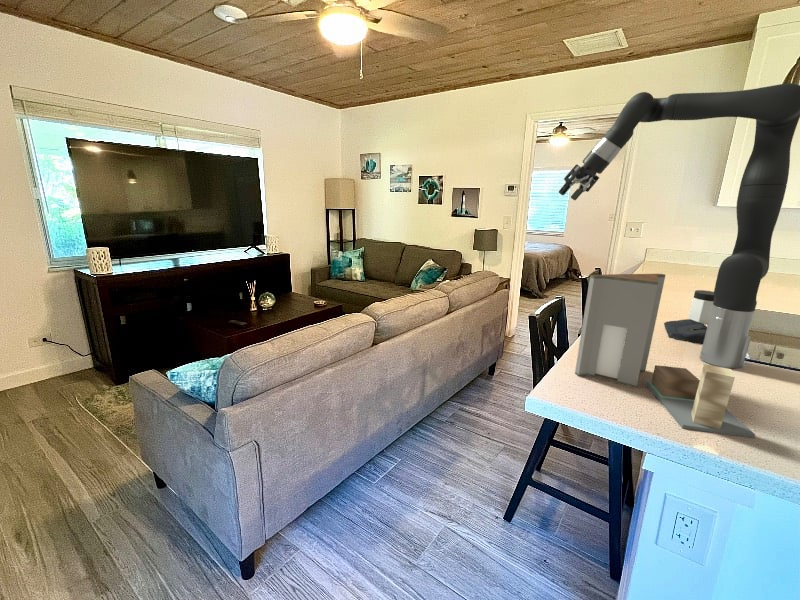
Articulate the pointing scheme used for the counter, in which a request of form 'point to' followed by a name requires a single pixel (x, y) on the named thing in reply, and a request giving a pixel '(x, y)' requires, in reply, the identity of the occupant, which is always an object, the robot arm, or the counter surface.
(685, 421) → the mat
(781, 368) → the counter surface
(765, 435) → the counter surface
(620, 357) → the cabinet
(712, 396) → the pillar
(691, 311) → the jar
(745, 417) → the counter surface
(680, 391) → the base block
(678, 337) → the dark slate chunk
